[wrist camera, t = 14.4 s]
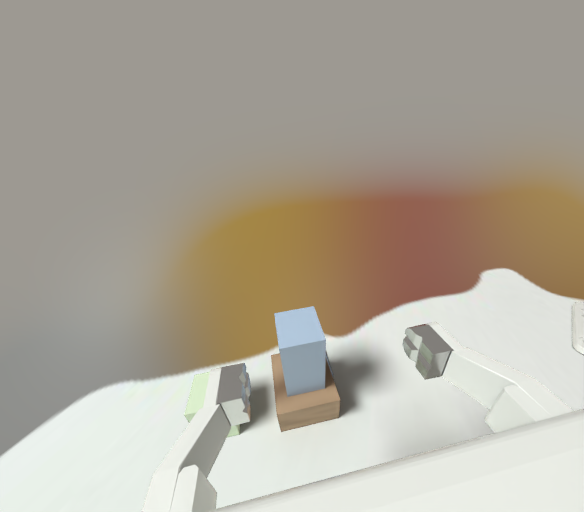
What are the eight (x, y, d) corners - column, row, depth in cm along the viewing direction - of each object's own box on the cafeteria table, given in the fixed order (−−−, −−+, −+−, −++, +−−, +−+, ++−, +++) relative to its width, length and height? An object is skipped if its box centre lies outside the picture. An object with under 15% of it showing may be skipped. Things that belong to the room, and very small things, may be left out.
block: (208, 403, 33) (194, 374, 29) (241, 396, 33) (231, 367, 30) (201, 443, 28) (184, 415, 25) (239, 434, 29) (227, 405, 25)
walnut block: (274, 373, 35) (271, 355, 33) (321, 363, 36) (321, 344, 33) (281, 431, 29) (276, 414, 26) (338, 417, 29) (340, 400, 27)
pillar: (282, 360, 32) (274, 313, 26) (315, 354, 32) (313, 306, 27) (287, 396, 28) (279, 349, 22) (325, 388, 28) (325, 339, 23)
